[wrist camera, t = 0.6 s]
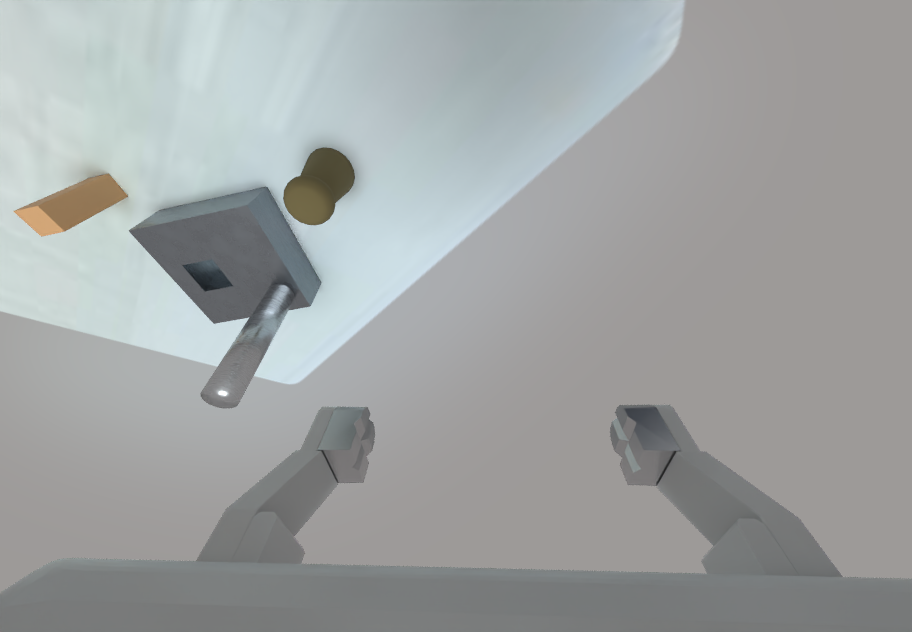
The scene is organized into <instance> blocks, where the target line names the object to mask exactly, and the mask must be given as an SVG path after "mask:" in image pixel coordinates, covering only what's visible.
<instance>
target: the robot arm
mask: <svg viewBox="0 0 912 632" xmlns="http://www.w3.org/2000/svg"><path fill="white" fill-rule="evenodd" d="M615 413H616V416H617V419H615V420H614V421H613V422H612V424H611V428H610V436H611V441H612V445H613V447H614V450H615V452H616V453H618V454H619V455H620V456H621V457H622V460H621V463H620V466H621V469H622V471H623V474H624V476H625V479H626V481H627V484H628V485H648V486H657V488H658V489H659V490H660V491H661V492H662V493H663V494H664V496H665V497H667V499H669V501H670V502H671V503H672V504H673V505H674V506H675V507H676V508H677V509H678V510H679V511H680V512H681V513H682V514H683V515H684V516H685V517H686V518H687V519H688V520H689V521H690V522H691V523H692V524H693V525H694V526H695V527H696V528H697V529H698V530H699V531H700V532H701V533H702V534H703V535H704V536H705V537H706V538H707V539H708V540H709V541H710V543H712V544H713V547H712V548H711V549H710V550H709V551H708V553H707V554H706V555H705V556H704V557H703V559H702V563H703V566H704V568H705V570H706V572H707V574H699V573H658V572H617V571H616V572H615V571H574V570H572V571H571V570H535V569H496V568H455V567H453V568H452V567H414V566H373V565H372V566H371V565H331V564H301V563H302V560H303V556H304V554H305V552H304V549H303V548H302V546H301V545H300V544H299V542H298V541H297V540H296V538H295V537H294V536H295V535H296V534H297V533H298V531H299V530H300V529H301V528H302V527H303V525H304V524H305V523H306V522H307V521H308V520H309V518H310V517H311V516H312V515H313V514H314V512H315V511H316V510H317V509H318V508H319V507H320V505H321V504H322V503H323V502H324V501H325V499H326V498H327V497H328V496H329V494H330V493H331V492H332V491H333V490H334V489H335V488H336V486H337V485H338V483H359V482H360V483H363V482H364V479H365V475H366V471H367V468H368V464H369V462H368V460H367V457H366V456H367V455H368V454H369V453H370V452H371V451H372V449H373V445H374V438H375V429H374V424H373V422H372V421H370V420H369V416H370V412H369V409H368V407H322V408H321V409H320V410H319V411H318V413H317V415H316V417H315V420H314V422H313V424H312V426H311V428H310V430H309V433H308V435H307V437H306V439H305V441H304V444H303V445H302V448H301V450H298V451H295V452H294V453H292V454H291V455H290V456H289V457H288V458H286V459H285V460H284V461H283V462H282V463H280V464H279V465H278V466H277V467H276V468H274V469H273V470H272V471H271V472H270V473H268V474H267V475H266V476H265V477H264V478H263V479H261V480H260V481H259V482H258V483H257V484H255V485H254V486H253V487H252V488H251V489H249V490H248V491H247V492H246V493H245V494H243V495H242V496H241V497H240V498H239V499H238V500H236V501H235V502H234V503H233V504H232V505H230V506H229V507H228V508H227V509H226V510H225V512H224V513H223V515H222V517H221V519H220V520H219V522H218V524H217V525H216V527H215V529H214V531H213V532H212V534H211V536H210V538H209V539H208V541H207V543H206V545H205V546H204V548H203V550H202V551H201V553H200V555H199V557H198V559H197V560H196V561H165V560H122V559H86V558H67V559H59V560H56V561H53V562H50V563H48V564H46V565H44V566H43V567H41V568H39V569H37V570H36V571H34V572H32V573H30V574H29V575H27V576H26V577H24V578H22V579H21V580H19V581H18V582H16V583H15V584H13V585H12V586H10V587H8V588H7V589H5V590H4V591H2V592H1V593H0V632H912V579H901V578H861V577H860V578H858V577H843V576H842V575H841V574H840V572H839V571H838V570H837V568H836V567H835V566H834V564H833V563H832V562H831V560H830V559H829V558H828V556H827V555H826V554H825V552H824V551H823V550H822V548H821V547H820V546H819V544H818V543H817V541H816V540H815V539H814V537H813V536H812V535H811V533H810V532H809V531H808V530H807V528H806V527H805V526H804V524H803V523H802V521H801V520H800V519H799V518H798V517H797V516H795V515H794V514H793V513H791V512H790V511H788V510H787V509H785V508H784V507H783V506H781V505H780V504H779V503H777V502H775V501H774V500H773V499H772V498H770V497H769V496H767V495H766V494H764V493H763V492H762V491H760V490H759V489H758V488H756V487H755V486H753V485H752V484H751V483H749V482H748V481H746V480H745V479H743V478H742V477H741V476H739V475H738V474H736V473H735V472H733V471H732V470H731V469H729V468H728V467H727V466H725V465H724V464H722V463H721V462H720V461H718V460H717V459H715V458H714V457H712V456H711V455H710V454H708V453H707V452H701V451H700V450H699V448H698V446H697V445H696V443H695V442H694V440H693V439H692V437H691V435H690V434H689V432H688V431H687V429H686V427H685V426H684V424H683V422H682V421H681V419H680V418H679V416H678V414H677V413H676V412H675V410H674V408H673V407H672V406H670V405H620V406H618V407H617V409H616V412H615Z"/></svg>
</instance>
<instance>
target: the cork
mask: <svg viewBox="0 0 912 632" xmlns="http://www.w3.org/2000/svg"><path fill="white" fill-rule="evenodd" d="M354 179H355V176H354V170H353V167H352V165H351V163H350V162H349V160H348V159H347V158H346V157H345V156H344V155H343V154H342V153H340V152H339V151H337V150H334V149H332V148H320V149H316V150H315V151H314V152H312V153H311V154H310V156H309V158H308V160H307V162H306V164H305V166H304V169H303V171H302V173H301V175H300V176H299V177H295V178H294V179H292V180H291V181H290V182H289V183H288V184H287V186H286V188H285V190H284V197H283V199H284V203H285V206H286V208H287V210H288V211H289V213H290V214H291V215H292V216H293V217H294V218H295V219H296V220H298V221H300V222H302V223H305V224H308V225H319V224H322V223H324V222H326V221H327V220H329V219H330V217H331V216H332V214H333V212H334V209H335V203H336V202H337V201H338V200H339V199H340V198H342V197H343V196H344V195H345V194H346V193H347V192H348V191H349V190H350V189H351V187H352V186H353V183H354Z"/></svg>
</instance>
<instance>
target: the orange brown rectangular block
mask: <svg viewBox="0 0 912 632" xmlns="http://www.w3.org/2000/svg"><path fill="white" fill-rule="evenodd" d="M126 197H128V196H127V194H126V193H125V192H124V191H123V190H122V189H121V187H120V186H119V185H118V184H117V183H116V182H115V180H114V179H113V178H112V177H111V176H110V175H109V174H105V175H101V176H97V177H93V178H88V179H86V180H84V181H81V182H79V183H77V184H75V185H72V186H70V187H68V188H65V189H63V190H61V191H59V192H56V193H54V194H52V195H49V196H47V197H45V198H43V199H40V200H38V201H36V202H33V203H31V204H29V205H27V206H24V207H22V208H20V209H17V210H15V211H14V212H15V213H16V214H17V215H18V216H19V217H20V218H21V219H22V220H24V221H25V222H26V223H27V224H28V225H29V226H30V227H31V228H33V229H34V230H35V231H36V232H37V233H38V234H39V235H40V236H41V237H42V236H46V235H51V234H55V233H60V232H64V231H66V230H68V229H70V228H72V227H74V226H75V225H77V224H79V223H81V222H83V221H85V220H86V219H88V218H90V217H92V216H94V215H95V214H97V213H99V212H101V211H103V210H104V209H106V208H108V207H110V206H112V205H114V204H115V203H117V202H119V201H121V200H123V199H124V198H126Z"/></svg>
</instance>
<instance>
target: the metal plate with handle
mask: <svg viewBox="0 0 912 632" xmlns="http://www.w3.org/2000/svg"><path fill="white" fill-rule="evenodd" d="M129 232H130V233H131V234H132V235H133V236H134V237H135V238H136V239H137V240H138V242H139V243H140V244H141V245H142V246H143V247H144V248H145V249H146V250H147V251H148V252H149V254H150V255H151V256H152V257H153V258H154V259H155V260H156V261H157V262H158V263H159V264H160V266H161V267H162V268H163V269H164V270H165V271H166V272H167V273H168V274H169V275H170V276H171V278H172V279H173V280H174V281H175V282H176V283H177V284H178V285H179V286H180V287H181V288H182V290H183V291H184V292H185V293H186V294H187V295H188V296H189V297H190V298H191V299H192V300H193V302H194V303H195V304H196V305H197V306H198V307H199V308H200V309H201V310H202V311H203V312H204V314H205V315H206V316H207V317H208V318H209V319H210V320H211V321H212V322H213V323H214V324H215V323H220V322H226V321H231V320H237V319H243V318H248V317H250V318H249V319H248V321H247V322H246V324H245V326H244V327H243V329H242V330H241V332H240V333H239V335H238V336H237V338H236V339H235V341H234V343H233V344H232V346H231V347H230V349H229V350H228V352H227V353H226V355H225V356H224V358H223V359H222V361H221V363H220V364H219V366H218V367H217V369H216V370H215V372H214V373H213V375H212V376H211V378H210V379H209V381H208V383H207V384H206V386H205V387H204V389H203V390H202V392H201V397H202V399H203V400H204V401H205V402H207V403H208V404H210V405H213V406H216V407H219V408H233V407H236V406H237V405H238V404H239V402H240V400H241V398H242V396H243V395H244V393H245V391H246V389H247V387H248V385H249V383H250V381H251V379H252V377H253V376H254V374H255V372H256V370H257V368H258V366H259V364H260V363H261V361H262V359H263V357H264V355H265V353H266V351H267V349H268V347H269V346H270V344H271V342H272V340H273V338H274V336H275V334H276V332H277V331H278V329H279V327H280V325H281V323H282V321H283V319H284V317H285V316H286V314H287V312H288V310H293V309H298V308H304V307H310V306H311V304H312V302H313V300H314V298H315V296H316V293H317V291H318V289H319V287H320V285H321V282H320V280H319V278H318V276H317V275H316V273H315V271H314V269H313V268H312V266H311V264H310V262H309V261H308V259H307V257H306V255H305V253H304V252H303V250H302V248H301V246H300V245H299V243H298V241H297V239H296V238H295V236H294V234H293V232H292V230H291V229H290V227H289V225H288V223H287V222H286V220H285V218H284V216H283V215H282V213H281V211H280V209H279V207H278V206H277V204H276V202H275V200H274V199H273V197H272V195H271V193H270V191H269V190H268V188H267V187H264V188H259V189H255V190H250V191H245V192H241V193H236V194H232V195H227V196H223V197H218V198H214V199H209V200H204V201H200V202H195V203H191V204H186V205H182V206H177V207H173V208H168V209H164V210H159V211H158V212H156V213H155V214H153V215H152V216H150V217H149V218H147V219H146V220H144V221H143V222H141V223H139V224H138V225H136V226H135V227H133V228H132V229H130V230H129Z"/></svg>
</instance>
